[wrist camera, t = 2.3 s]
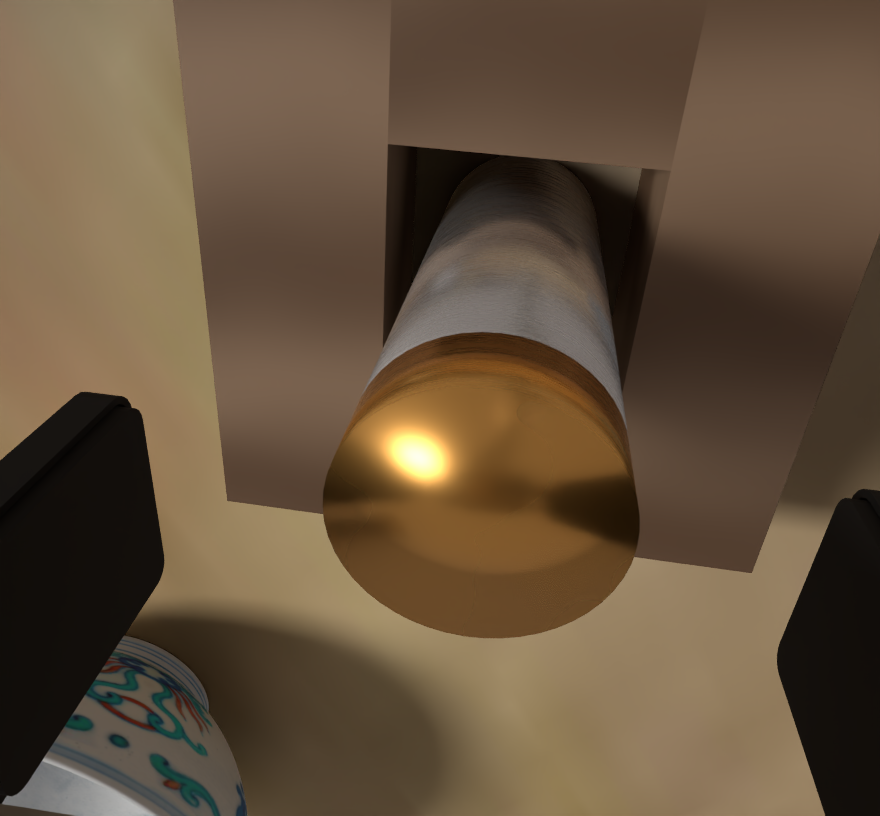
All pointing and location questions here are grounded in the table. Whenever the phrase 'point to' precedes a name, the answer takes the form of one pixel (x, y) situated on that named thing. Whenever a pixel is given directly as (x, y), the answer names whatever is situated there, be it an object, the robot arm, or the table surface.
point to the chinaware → (139, 746)
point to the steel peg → (494, 422)
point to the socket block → (557, 138)
